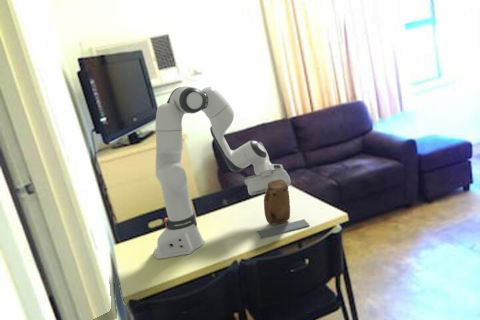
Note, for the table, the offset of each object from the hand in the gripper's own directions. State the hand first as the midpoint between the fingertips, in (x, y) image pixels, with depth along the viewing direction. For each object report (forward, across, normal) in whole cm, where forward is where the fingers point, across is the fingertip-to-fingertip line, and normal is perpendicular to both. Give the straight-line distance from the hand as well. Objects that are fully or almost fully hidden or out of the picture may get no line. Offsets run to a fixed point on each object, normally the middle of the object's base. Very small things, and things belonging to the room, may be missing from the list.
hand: (273, 197), depth 190 cm
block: (+8, 0, +7) cm, 11 cm away
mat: (+15, 0, +1) cm, 16 cm away
